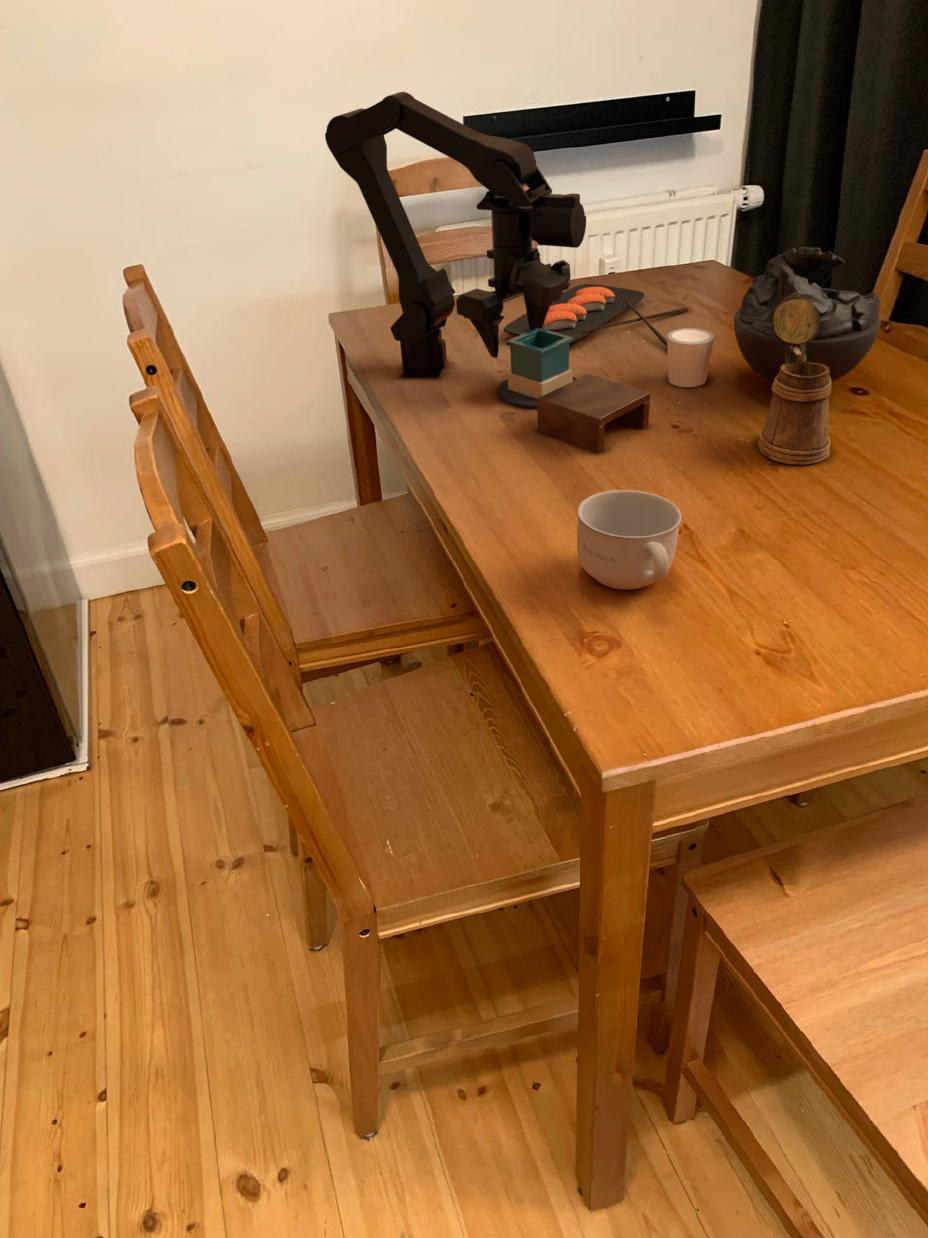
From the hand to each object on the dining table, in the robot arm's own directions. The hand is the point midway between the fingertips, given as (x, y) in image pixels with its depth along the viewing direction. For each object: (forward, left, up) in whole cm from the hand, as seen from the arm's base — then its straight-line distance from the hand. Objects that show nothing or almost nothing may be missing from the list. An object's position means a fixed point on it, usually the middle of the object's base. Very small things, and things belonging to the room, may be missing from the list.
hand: (515, 348), depth 146 cm
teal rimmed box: (+1, -1, -1) cm, 2 cm away
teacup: (+19, -54, -6) cm, 58 cm away
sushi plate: (+14, +25, -6) cm, 29 cm away
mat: (+4, -3, -6) cm, 8 cm away
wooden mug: (+39, -19, -6) cm, 44 cm away
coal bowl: (+42, +1, -6) cm, 43 cm away
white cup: (+26, +2, -6) cm, 27 cm away
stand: (+13, -16, -6) cm, 21 cm away
